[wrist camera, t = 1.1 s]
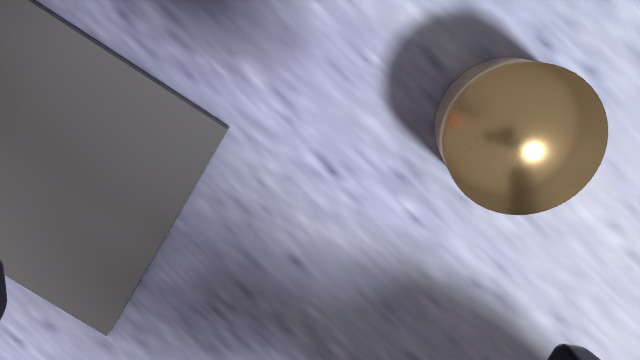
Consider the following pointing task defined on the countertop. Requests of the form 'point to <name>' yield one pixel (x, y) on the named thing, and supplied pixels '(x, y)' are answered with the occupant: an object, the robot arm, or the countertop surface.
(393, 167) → the countertop surface
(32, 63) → the seat pad
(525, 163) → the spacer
